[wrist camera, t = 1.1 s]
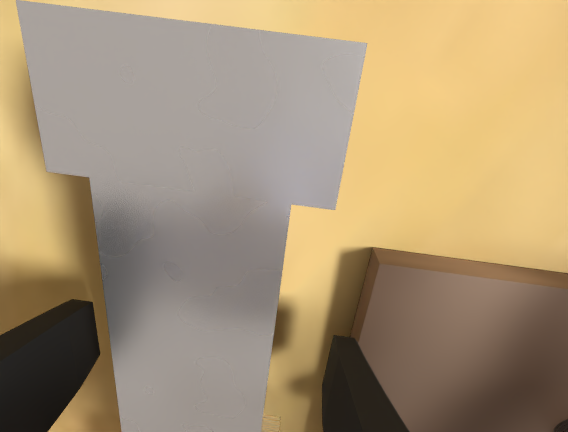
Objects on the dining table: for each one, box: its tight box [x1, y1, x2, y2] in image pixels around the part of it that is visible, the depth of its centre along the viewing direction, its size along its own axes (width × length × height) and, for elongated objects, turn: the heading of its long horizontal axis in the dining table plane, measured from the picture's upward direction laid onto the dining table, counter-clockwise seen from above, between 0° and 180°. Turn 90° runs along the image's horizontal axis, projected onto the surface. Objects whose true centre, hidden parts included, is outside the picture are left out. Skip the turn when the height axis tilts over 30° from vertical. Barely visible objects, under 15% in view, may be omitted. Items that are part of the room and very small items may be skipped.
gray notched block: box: [16, 0, 367, 432], centre depth 9 cm, size 5×16×4 cm, turn 173°
